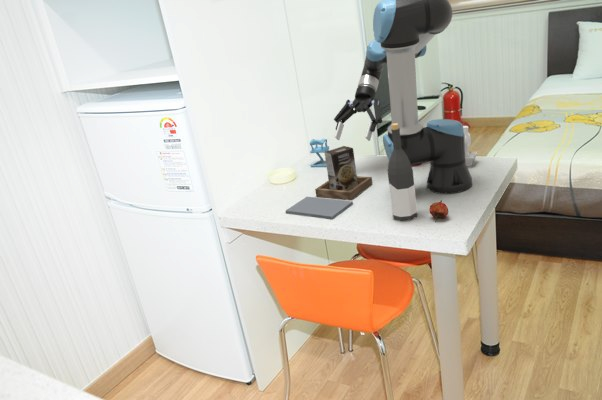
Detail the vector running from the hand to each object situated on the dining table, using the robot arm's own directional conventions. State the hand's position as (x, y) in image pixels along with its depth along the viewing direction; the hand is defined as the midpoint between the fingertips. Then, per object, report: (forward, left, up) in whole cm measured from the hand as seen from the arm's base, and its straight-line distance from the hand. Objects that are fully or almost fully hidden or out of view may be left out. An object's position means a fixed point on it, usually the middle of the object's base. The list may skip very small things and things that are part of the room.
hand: (351, 138), depth 193 cm
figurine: (-34, -24, -17) cm, 45 cm away
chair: (+28, -16, -17) cm, 36 cm away
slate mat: (0, +27, -17) cm, 32 cm away
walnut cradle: (0, +10, -17) cm, 20 cm away
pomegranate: (-43, +24, -17) cm, 53 cm away
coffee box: (0, +10, -17) cm, 20 cm away
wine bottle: (-32, +25, -17) cm, 44 cm away
